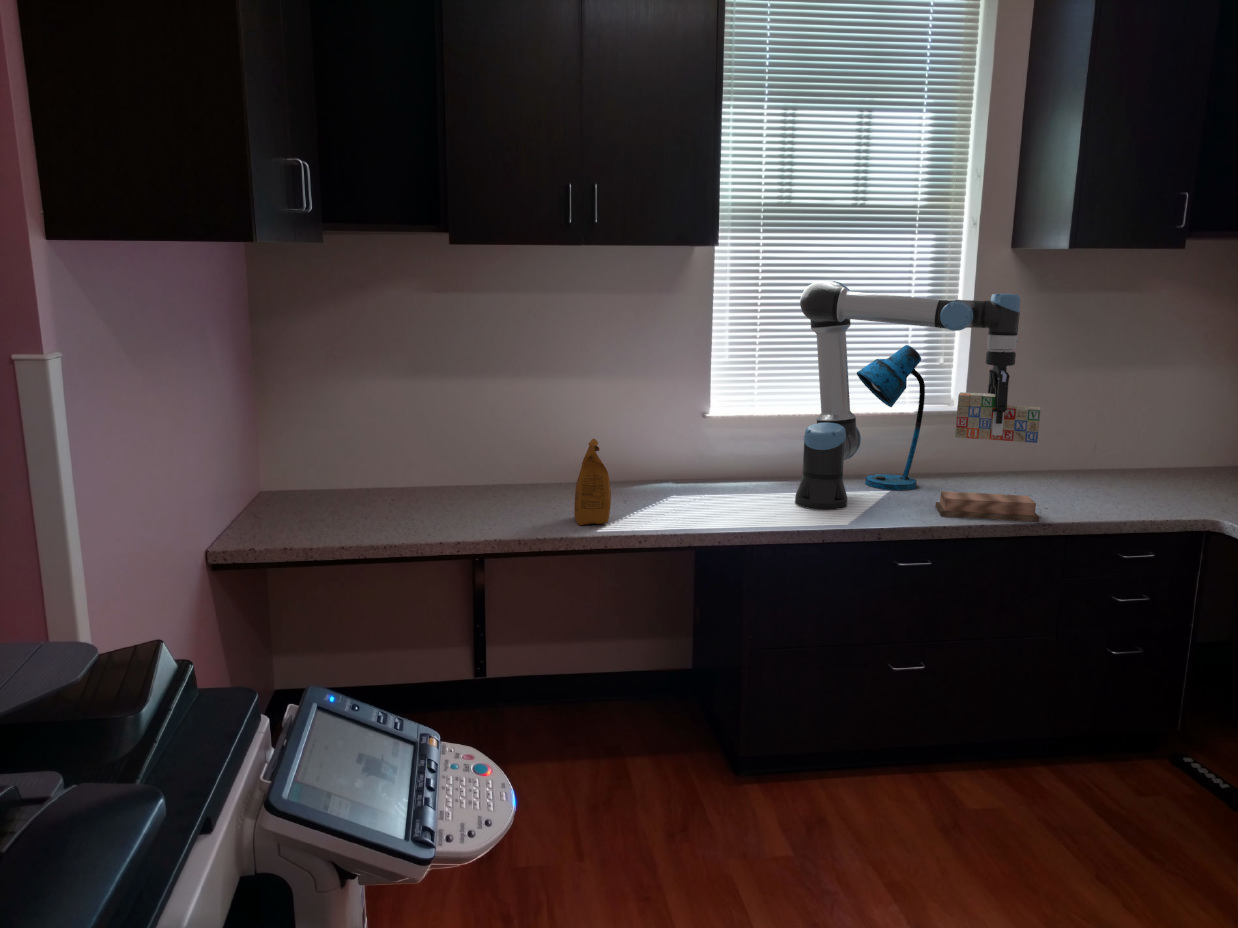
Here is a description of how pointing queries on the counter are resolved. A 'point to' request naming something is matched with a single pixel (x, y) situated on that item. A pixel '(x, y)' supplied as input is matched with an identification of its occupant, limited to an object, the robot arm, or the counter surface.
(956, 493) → the base brick
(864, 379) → the desk lamp
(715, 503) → the counter surface
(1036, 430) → the stack of blocks
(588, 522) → the coffee package
